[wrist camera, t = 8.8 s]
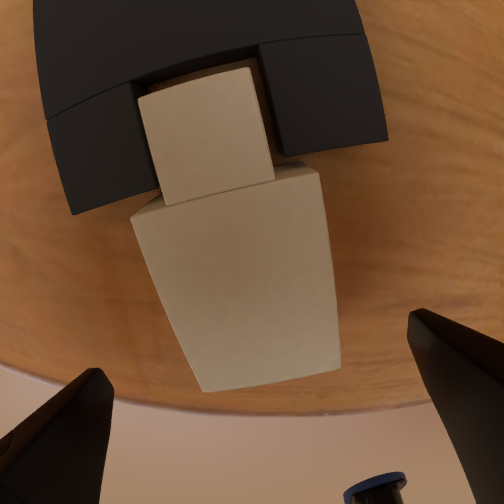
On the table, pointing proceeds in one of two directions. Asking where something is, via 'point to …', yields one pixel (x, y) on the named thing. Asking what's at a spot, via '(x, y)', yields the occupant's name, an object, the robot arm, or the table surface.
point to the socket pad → (190, 60)
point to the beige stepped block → (236, 239)
